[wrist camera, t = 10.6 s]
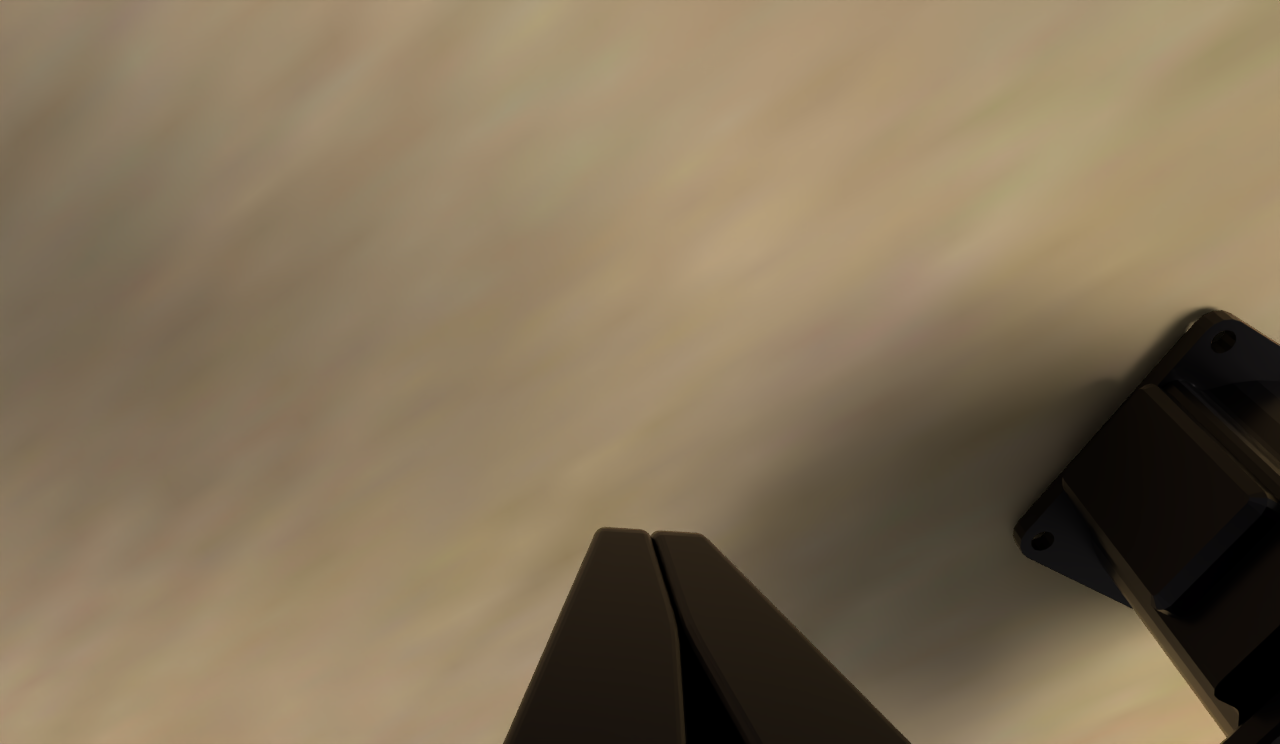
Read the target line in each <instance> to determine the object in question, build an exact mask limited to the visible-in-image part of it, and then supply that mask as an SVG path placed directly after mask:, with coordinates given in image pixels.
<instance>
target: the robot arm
mask: <svg viewBox="0 0 1280 744" xmlns="http://www.w3.org/2000/svg"><path fill="white" fill-rule="evenodd" d="M1222 331H1225V333H1224V334H1223V336H1222V338H1221V339H1219V340H1218V341H1217V342H1215V343H1212V344H1211V342H1212V340H1213V338H1214V336H1216V335H1217V334H1218V333H1220V332H1222ZM1041 532H1045V533H1044V535H1042V536H1041V537H1039V538H1037V539H1033V537H1034V536H1036V535H1037V534H1038V533H1041ZM1013 538H1014V540H1015V543H1016V544H1017V546H1018V547H1019V549H1020V550H1021V552H1022V553H1023V554H1024V555H1025V556H1026V557H1028V558H1029V559H1031V560H1034V561H1036V562H1038V563H1040V564H1042V565H1044V566H1046V567H1048V568H1050V569H1052V570H1054V571H1056V572H1058V573H1060V574H1062V575H1064V576H1066V577H1068V578H1070V579H1073V580H1075V581H1077V582H1079V583H1081V584H1083V585H1085V586H1087V587H1089V588H1091V589H1093V590H1095V591H1097V592H1099V593H1101V594H1103V595H1105V596H1107V597H1109V598H1112V599H1114V600H1116V601H1118V602H1120V603H1122V604H1124V605H1126V606H1128V607H1130V608H1132V609H1134V611H1135V612H1136V613H1137V615H1138V616H1139V617H1140V619H1141V620H1142V622H1143V623H1144V624H1145V626H1146V627H1147V628H1148V630H1149V631H1150V633H1151V634H1152V635H1153V637H1154V638H1155V639H1156V641H1157V642H1158V644H1159V645H1160V646H1161V648H1162V649H1163V650H1164V652H1165V653H1166V655H1167V656H1168V657H1169V659H1170V660H1171V661H1172V663H1173V664H1174V666H1175V667H1176V668H1177V670H1178V671H1179V672H1180V674H1181V675H1182V676H1183V678H1184V679H1185V681H1186V682H1187V683H1188V685H1189V686H1190V687H1191V689H1192V690H1193V692H1194V693H1195V694H1196V696H1197V697H1198V698H1199V700H1200V701H1201V703H1202V704H1203V705H1204V707H1205V708H1206V709H1207V711H1208V712H1209V714H1210V715H1211V716H1212V718H1213V719H1214V720H1215V722H1216V723H1217V725H1218V726H1219V727H1220V729H1221V730H1222V731H1223V733H1224V734H1225V736H1226V737H1227V738H1226V739H1225V740H1224V741H1222V742H1221V743H1220V744H1280V344H1278V343H1277V342H1275V341H1273V340H1272V339H1270V338H1269V337H1267V336H1266V335H1264V334H1262V333H1261V332H1259V331H1258V330H1256V329H1255V328H1253V327H1251V326H1250V325H1248V324H1247V323H1245V322H1244V321H1242V320H1240V319H1239V318H1237V317H1236V316H1234V315H1233V314H1231V313H1229V312H1226V311H1223V310H1221V311H1212V312H1210V313H1208V314H1205V315H1203V316H1202V317H1201V318H1200V319H1198V320H1197V321H1196V322H1195V323H1194V324H1193V325H1192V326H1191V328H1190V329H1189V330H1188V331H1187V332H1186V333H1185V334H1184V335H1183V337H1182V338H1181V339H1180V340H1179V341H1178V342H1177V343H1176V344H1175V346H1174V347H1173V348H1172V349H1171V350H1170V351H1169V352H1168V353H1167V355H1166V356H1165V357H1164V358H1163V359H1162V360H1161V361H1160V362H1159V364H1158V365H1157V366H1156V367H1155V368H1154V369H1153V370H1152V371H1151V373H1150V374H1149V375H1148V376H1147V377H1146V378H1145V379H1144V381H1143V382H1142V383H1141V384H1140V385H1139V386H1138V387H1137V388H1136V390H1135V391H1134V392H1133V393H1132V394H1131V395H1130V396H1129V397H1128V399H1127V400H1126V401H1125V402H1124V403H1123V404H1122V405H1121V406H1120V408H1119V409H1118V410H1117V411H1116V412H1115V413H1114V414H1113V415H1112V417H1111V418H1110V419H1109V420H1108V421H1107V422H1106V423H1105V424H1104V426H1103V427H1102V428H1101V429H1100V430H1099V431H1098V432H1097V433H1096V435H1095V436H1094V437H1093V438H1092V439H1091V440H1090V441H1089V442H1088V444H1087V445H1086V446H1085V447H1084V448H1083V449H1082V450H1081V451H1080V453H1079V454H1078V455H1077V456H1076V457H1075V458H1074V459H1073V460H1072V462H1071V463H1070V464H1069V465H1068V466H1067V467H1066V468H1065V469H1064V471H1063V472H1062V473H1061V474H1060V475H1059V476H1058V477H1057V478H1056V480H1055V481H1054V482H1053V483H1052V484H1051V485H1050V486H1049V488H1048V489H1047V490H1046V491H1045V492H1044V493H1043V494H1042V495H1041V497H1040V498H1039V499H1038V500H1037V501H1036V502H1035V503H1034V504H1033V506H1032V507H1031V508H1030V509H1029V510H1028V511H1027V512H1026V513H1025V515H1024V516H1023V517H1022V518H1021V519H1020V520H1019V521H1018V523H1017V524H1016V526H1015V528H1014V531H1013ZM503 744H911V743H910V742H909V741H908V740H907V739H906V738H905V737H904V736H903V735H902V734H901V733H900V732H899V731H898V730H897V729H896V728H895V727H894V726H893V725H892V724H891V723H890V722H889V721H888V720H887V719H886V718H885V717H884V716H883V715H882V714H881V713H880V712H879V711H878V710H877V709H876V708H875V707H874V706H873V705H872V704H871V702H870V701H869V700H868V699H867V698H866V697H865V696H864V695H863V694H862V693H861V692H860V691H859V690H858V689H857V688H856V687H855V686H854V685H853V684H852V683H851V682H850V681H849V680H848V679H847V678H846V677H845V676H844V675H843V674H842V673H841V672H840V671H839V670H838V669H837V668H836V667H835V666H834V665H833V664H832V663H831V662H830V661H829V660H828V659H827V658H826V657H825V656H824V655H823V654H822V653H821V652H820V651H819V650H818V649H817V648H816V647H815V646H814V645H813V644H812V643H811V642H810V641H809V640H808V639H807V638H806V637H805V636H804V635H803V634H802V633H801V632H800V631H799V630H798V629H797V628H796V627H795V626H794V625H793V624H792V623H791V622H790V621H789V620H788V619H787V618H786V617H785V616H784V615H783V614H782V613H781V612H780V611H779V610H778V609H777V608H776V607H775V606H774V605H773V604H772V603H771V602H770V601H769V600H768V599H767V598H766V597H765V596H764V595H763V594H762V593H761V592H760V591H759V590H758V589H757V588H756V587H755V586H754V585H753V584H752V583H751V582H750V581H749V580H748V579H747V578H746V577H745V576H744V575H743V574H742V573H741V572H740V571H739V570H738V569H737V568H736V567H735V566H734V565H733V564H732V563H731V562H730V561H729V560H728V559H727V558H726V557H725V556H724V555H723V554H722V553H721V552H720V551H719V550H718V549H717V548H716V547H715V546H714V545H713V544H712V543H711V542H710V540H709V539H707V538H706V537H705V536H703V535H702V534H699V533H691V532H675V531H656V532H654V533H653V534H652V535H651V536H650V535H649V533H647V532H646V531H644V530H641V529H627V528H611V527H602V528H600V529H598V530H597V531H596V533H595V535H594V537H593V539H592V541H591V544H590V546H589V548H588V551H587V553H586V555H585V557H584V560H583V562H582V564H581V567H580V569H579V571H578V573H577V576H576V578H575V580H574V583H573V585H572V587H571V590H570V592H569V594H568V596H567V599H566V601H565V603H564V606H563V608H562V610H561V612H560V615H559V617H558V619H557V622H556V624H555V626H554V628H553V631H552V633H551V635H550V638H549V640H548V642H547V645H546V647H545V649H544V651H543V654H542V656H541V658H540V661H539V663H538V665H537V667H536V670H535V672H534V674H533V677H532V679H531V681H530V683H529V686H528V688H527V690H526V693H525V695H524V697H523V699H522V702H521V704H520V706H519V709H518V711H517V713H516V716H515V718H514V720H513V722H512V725H511V727H510V729H509V732H508V734H507V736H506V738H505V741H504V743H503Z"/></svg>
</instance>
